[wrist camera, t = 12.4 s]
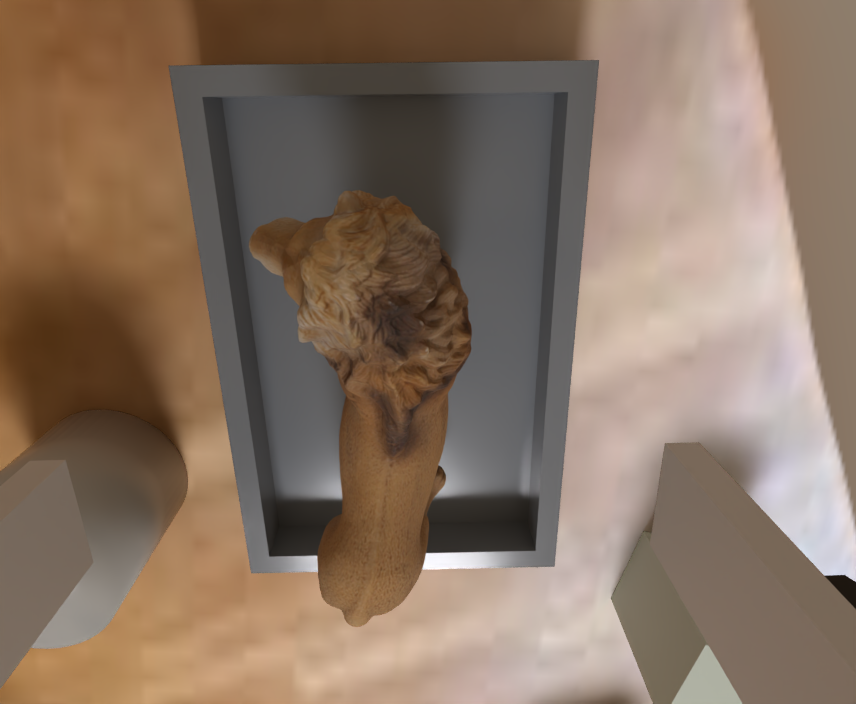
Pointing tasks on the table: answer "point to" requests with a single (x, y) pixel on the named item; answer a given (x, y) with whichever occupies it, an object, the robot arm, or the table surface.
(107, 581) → the pale grey rounded cylinder
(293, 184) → the slate tray
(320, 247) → the lion figurine
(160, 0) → the table surface
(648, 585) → the sage block
